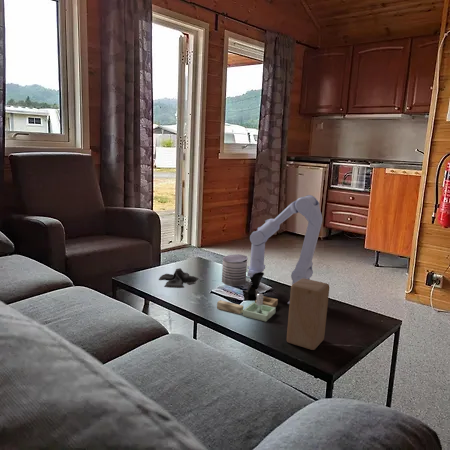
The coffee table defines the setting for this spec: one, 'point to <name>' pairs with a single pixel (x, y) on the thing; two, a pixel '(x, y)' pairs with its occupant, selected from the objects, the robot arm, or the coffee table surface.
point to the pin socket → (269, 301)
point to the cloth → (178, 279)
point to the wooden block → (307, 313)
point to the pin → (259, 303)
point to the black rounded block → (250, 293)
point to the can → (234, 270)
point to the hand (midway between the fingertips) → (255, 288)
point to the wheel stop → (230, 307)
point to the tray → (266, 313)
